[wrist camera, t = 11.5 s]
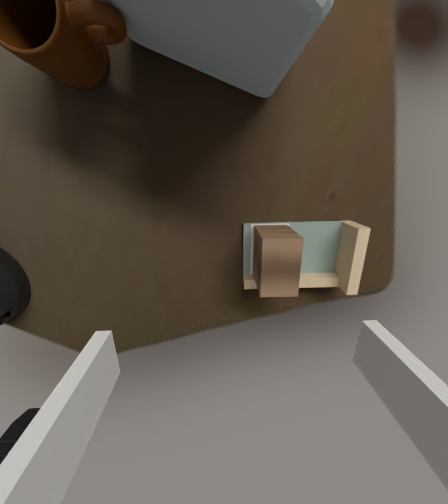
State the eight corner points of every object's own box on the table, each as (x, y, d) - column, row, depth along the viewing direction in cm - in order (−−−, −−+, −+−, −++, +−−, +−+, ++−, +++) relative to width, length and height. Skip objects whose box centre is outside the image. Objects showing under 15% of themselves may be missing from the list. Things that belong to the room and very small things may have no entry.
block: (253, 225, 35) (262, 239, 28) (286, 224, 35) (304, 238, 28) (252, 273, 37) (260, 297, 30) (283, 272, 37) (297, 296, 30)
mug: (144, 17, 27) (107, -58, 18) (149, 93, 29) (119, 60, 20) (40, 12, 26) (-51, -67, 18) (54, 89, 29) (-19, 54, 20)
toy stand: (242, 281, 39) (245, 297, 34) (243, 223, 35) (247, 231, 30) (340, 279, 39) (357, 294, 34) (350, 220, 35) (370, 228, 31)
